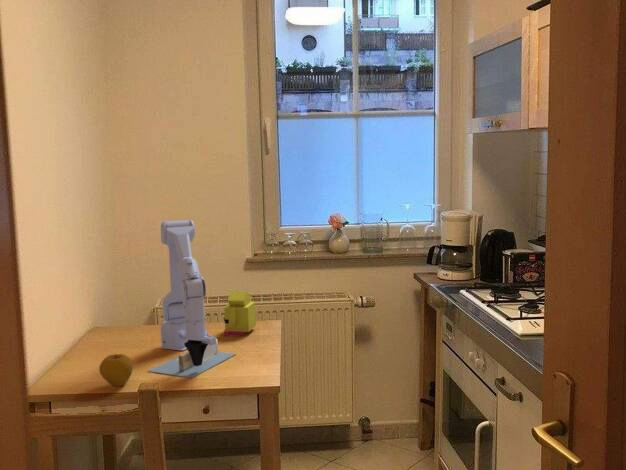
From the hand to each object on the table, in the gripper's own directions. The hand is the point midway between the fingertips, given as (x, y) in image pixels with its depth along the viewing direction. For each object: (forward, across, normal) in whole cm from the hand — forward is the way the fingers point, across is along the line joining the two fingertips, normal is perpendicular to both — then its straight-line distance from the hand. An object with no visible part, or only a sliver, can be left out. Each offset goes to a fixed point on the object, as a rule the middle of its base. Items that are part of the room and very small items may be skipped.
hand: (197, 365), depth 189 cm
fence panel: (+2, +5, -1) cm, 5 cm away
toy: (+2, +20, -38) cm, 43 cm away
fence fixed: (+2, +7, -10) cm, 12 cm away
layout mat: (+2, +8, -5) cm, 10 cm away
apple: (+2, +11, +20) cm, 23 cm away
